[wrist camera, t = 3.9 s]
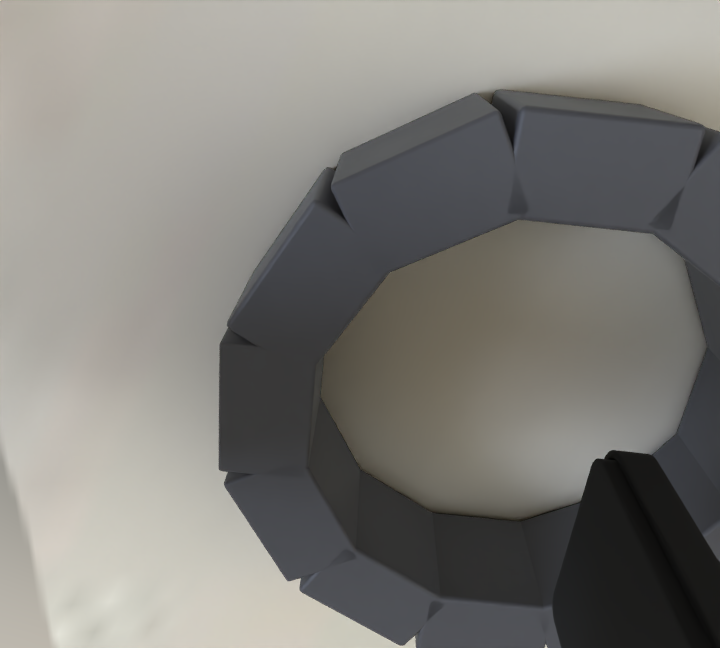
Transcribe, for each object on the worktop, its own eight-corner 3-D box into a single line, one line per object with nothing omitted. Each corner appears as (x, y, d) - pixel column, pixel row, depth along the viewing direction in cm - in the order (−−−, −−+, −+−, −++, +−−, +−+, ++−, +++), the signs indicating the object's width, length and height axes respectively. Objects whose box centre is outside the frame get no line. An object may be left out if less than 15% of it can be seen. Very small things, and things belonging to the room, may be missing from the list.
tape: (241, 545, 16) (216, 633, 13) (254, 62, 11) (220, 72, 9) (686, 589, 16) (737, 685, 13) (880, 130, 11) (1007, 157, 9)
